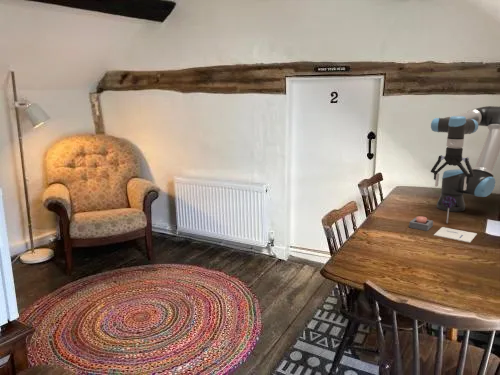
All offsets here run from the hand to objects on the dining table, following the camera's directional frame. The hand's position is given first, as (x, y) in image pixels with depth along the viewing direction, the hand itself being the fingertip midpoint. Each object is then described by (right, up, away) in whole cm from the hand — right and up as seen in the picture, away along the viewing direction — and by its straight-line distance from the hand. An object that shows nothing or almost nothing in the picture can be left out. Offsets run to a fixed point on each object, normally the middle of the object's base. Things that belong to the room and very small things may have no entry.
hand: (450, 187), depth 208 cm
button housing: (-15, -20, 0) cm, 25 cm away
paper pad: (-4, -23, -12) cm, 26 cm away
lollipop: (+1, -19, +5) cm, 20 cm away
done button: (-15, -18, 0) cm, 24 cm away
